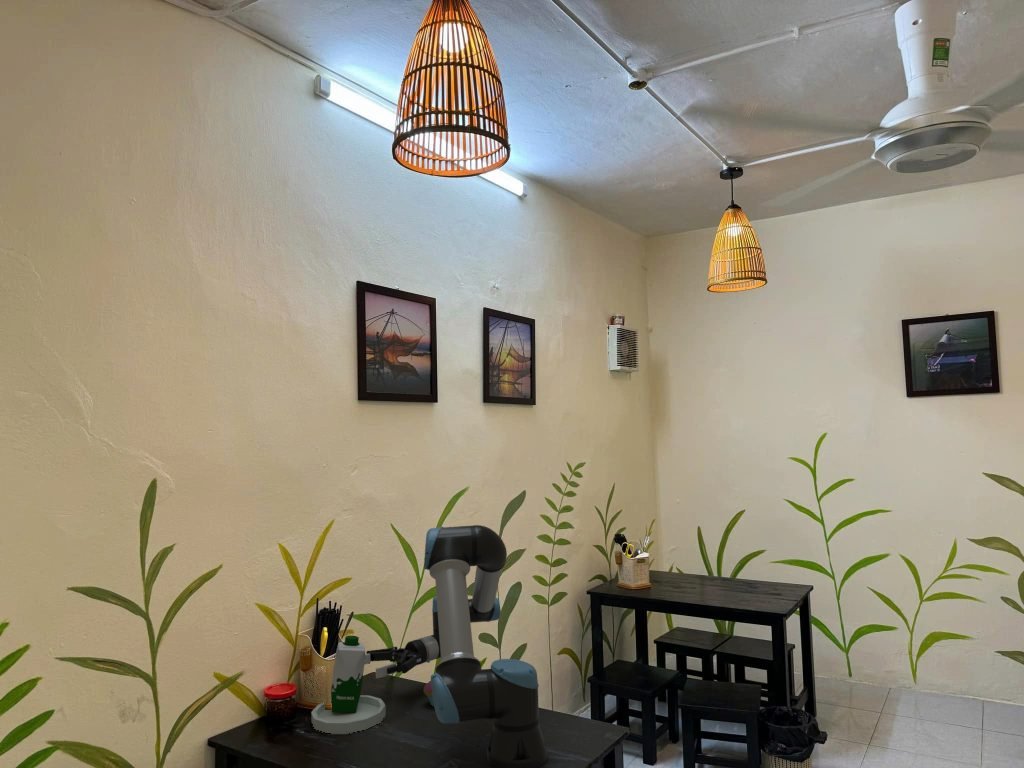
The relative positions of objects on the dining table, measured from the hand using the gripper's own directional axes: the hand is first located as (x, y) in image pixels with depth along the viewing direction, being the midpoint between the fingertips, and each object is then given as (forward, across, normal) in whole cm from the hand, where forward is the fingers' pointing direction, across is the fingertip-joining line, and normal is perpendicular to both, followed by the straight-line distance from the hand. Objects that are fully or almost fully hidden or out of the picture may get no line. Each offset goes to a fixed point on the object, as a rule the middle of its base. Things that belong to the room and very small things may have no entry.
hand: (363, 668), depth 211 cm
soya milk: (+4, +4, -12) cm, 13 cm away
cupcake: (-19, -11, -13) cm, 26 cm away
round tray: (+5, 0, -13) cm, 14 cm away
